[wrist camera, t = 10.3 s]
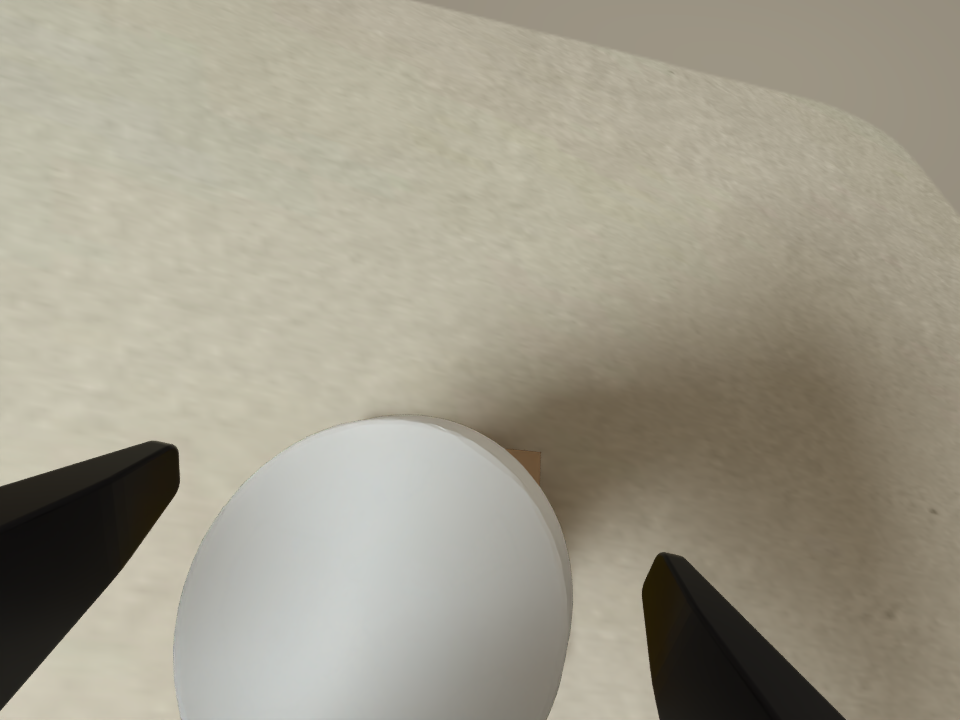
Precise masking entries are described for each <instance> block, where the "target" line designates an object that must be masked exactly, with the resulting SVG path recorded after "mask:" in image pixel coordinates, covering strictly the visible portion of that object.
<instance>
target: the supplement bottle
mask: <svg viewBox="0 0 960 720" xmlns="http://www.w3.org/2000/svg"><path fill="white" fill-rule="evenodd" d="M572 606H573V591H572V575H571V567H570V560H569V555H568V551H567V547H566V543H565V539H564V536H563V533H562V530H561V527H560V524H559V521H558V519H557V517H556V515H555V512H554V510H553V508H552V506H551V505H550V503H549V501H548V499H547V497H546V496H545V494H544V492H543V491H542V489H541V488H540V487H539V485H538V484H537V483H536V481H535V480H534V479H533V478H532V476H531V475H530V474H529V473H528V471H527V470H526V469H525V468H524V467H523V466H522V465H521V464H520V463H519V461H518V460H517V459H515V458H514V457H513V456H512V455H511V454H510V453H509V452H508V451H506V450H505V449H504V448H503V447H501V446H500V445H498V444H497V443H496V442H494V441H493V440H491V439H490V438H488V437H486V436H484V435H483V434H481V433H479V432H477V431H475V430H473V429H471V428H468V427H466V426H464V425H461V424H459V423H456V422H453V421H449V420H445V419H441V418H436V417H430V416H423V415H390V416H381V417H375V418H371V419H365V420H358V421H353V422H348V423H344V424H339V425H336V426H333V427H330V428H328V429H325V430H322V431H319V432H317V433H315V434H312V435H310V436H307V437H306V438H304V439H302V440H300V441H298V442H296V443H295V444H293V445H291V446H289V447H288V448H286V449H285V450H283V451H282V452H280V453H279V454H278V455H276V456H275V457H274V458H272V459H271V460H270V461H268V462H267V463H266V464H264V465H263V466H262V467H260V468H259V469H258V470H257V471H256V472H255V473H254V474H253V475H252V476H251V477H250V478H249V479H248V480H246V481H245V482H244V483H243V484H242V485H241V486H240V488H239V489H238V490H237V491H236V492H235V494H234V495H233V496H232V497H231V499H230V500H229V501H228V503H227V504H226V505H225V506H224V507H223V508H222V510H221V511H220V513H219V514H218V516H217V517H216V518H215V520H214V522H213V523H212V525H211V527H210V528H209V530H208V532H207V533H206V535H205V537H204V538H203V540H202V542H201V544H200V546H199V548H198V551H197V553H196V555H195V557H194V559H193V562H192V564H191V567H190V570H189V573H188V575H187V578H186V581H185V584H184V587H183V591H182V595H181V599H180V603H179V607H178V612H177V620H176V626H175V633H174V646H173V661H174V682H175V689H176V696H177V701H178V707H179V712H180V716H181V720H546V719H547V717H548V715H549V713H550V711H551V708H552V705H553V703H554V700H555V698H556V695H557V691H558V688H559V685H560V681H561V676H562V671H563V666H564V661H565V657H566V650H567V645H568V640H569V635H570V629H571V619H572Z"/></svg>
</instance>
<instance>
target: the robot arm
mask: <svg viewBox="0 0 960 720" xmlns="http://www.w3.org/2000/svg"><path fill="white" fill-rule="evenodd" d="M179 484H180V472H179V452H178V449H177V447H176V446H175V445H173V444H168V443H164V442H159V441H148V442H145V443H142V444H138V445H135V446H132V447H129V448H125V449H122V450H119V451H115V452H112V453H109V454H106V455H102V456H99V457H96V458H92V459H89V460H86V461H83V462H79V463H76V464H73V465H70V466H66V467H63V468H60V469H56V470H53V471H50V472H47V473H43V474H40V475H37V476H33V477H30V478H27V479H24V480H20V481H17V482H14V483H10V484H7V485H4V486H1V487H0V711H1V710H2V708H3V707H4V706H5V705H6V704H7V703H8V701H9V700H10V699H11V698H12V697H13V696H14V694H15V693H16V692H17V691H18V690H19V689H20V688H21V686H22V685H23V684H24V683H25V682H26V681H27V679H28V678H29V677H30V676H31V675H32V674H33V672H34V671H35V670H36V669H37V668H38V667H39V665H40V664H41V663H42V662H43V661H44V660H45V659H46V657H47V656H48V655H49V654H50V653H51V652H52V650H53V649H54V648H55V647H56V646H57V645H58V643H59V642H60V641H61V640H62V639H63V638H64V636H65V635H66V634H67V633H68V632H69V631H70V630H71V628H72V627H73V626H74V625H75V624H76V623H77V621H78V620H79V619H80V618H81V617H82V616H83V614H84V613H85V612H86V611H87V610H88V609H89V607H90V606H91V605H92V604H93V603H94V602H95V601H96V599H97V598H98V597H99V596H100V595H101V594H102V592H103V591H104V590H105V589H106V588H107V587H108V585H109V584H110V583H111V582H112V581H113V580H114V578H115V577H116V576H117V575H118V573H119V572H120V571H121V570H122V569H123V567H124V566H125V565H126V563H127V562H128V561H129V559H130V558H131V557H132V555H133V554H134V552H135V551H136V550H137V548H138V547H139V545H140V544H141V543H142V541H143V540H144V538H145V537H146V536H147V534H148V533H149V531H150V530H151V528H152V527H153V526H154V524H155V523H156V521H157V520H158V519H159V517H160V516H161V514H162V513H163V512H164V510H165V509H166V507H167V506H168V505H169V503H170V502H171V500H172V499H173V497H174V496H175V494H176V493H177V490H178V488H179ZM642 601H643V610H644V619H645V627H646V636H647V645H648V654H649V662H650V671H651V678H652V685H653V690H654V695H655V700H656V705H657V710H658V714H659V719H660V720H846V719H845V718H844V717H843V716H842V715H841V714H840V713H839V712H838V711H837V710H836V709H835V708H834V707H833V706H832V705H831V704H830V703H829V702H828V701H827V700H826V699H825V698H824V697H823V696H822V695H821V694H820V693H819V692H818V691H817V690H816V689H815V688H814V687H813V686H812V685H811V684H810V683H809V682H808V681H807V680H806V679H805V678H804V677H803V676H802V675H801V674H800V673H799V672H798V671H797V670H796V669H795V668H794V667H793V666H792V665H791V664H790V663H789V662H788V661H787V660H786V659H785V658H784V657H783V656H782V655H781V654H780V653H779V652H778V651H777V650H776V649H775V648H774V647H773V646H772V645H771V644H770V643H769V642H768V641H767V640H766V639H765V638H764V637H763V636H762V635H761V634H760V633H759V632H758V631H757V630H756V629H755V628H754V627H753V626H752V625H751V624H750V623H749V622H748V621H747V620H746V619H745V618H744V617H743V616H742V615H741V614H740V613H739V612H738V611H737V610H736V609H735V608H734V607H733V606H732V605H731V604H730V603H729V602H728V601H727V600H726V599H725V598H724V597H723V596H722V595H721V594H720V593H719V592H718V591H717V590H716V589H715V588H714V587H713V586H712V585H711V584H710V583H709V582H708V581H707V580H706V579H705V578H704V577H703V576H702V575H701V574H700V573H699V572H698V571H697V570H696V569H695V568H694V567H693V566H692V565H691V564H690V563H689V562H688V561H687V560H686V559H685V558H684V557H682V556H679V555H675V554H670V553H665V552H661V553H659V554H658V555H657V556H656V558H655V560H654V562H653V564H652V566H651V569H650V571H649V573H648V575H647V577H646V579H645V581H644V584H643V588H642Z"/></svg>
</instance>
